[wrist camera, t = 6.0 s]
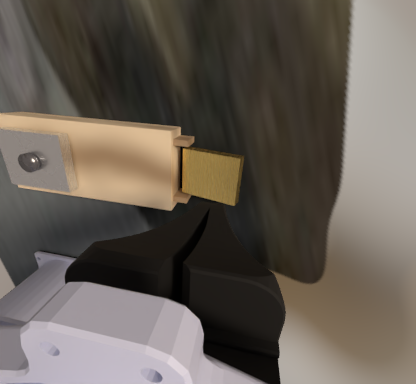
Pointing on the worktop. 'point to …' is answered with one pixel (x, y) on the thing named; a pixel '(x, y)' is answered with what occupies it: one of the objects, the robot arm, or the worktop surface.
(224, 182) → the lever
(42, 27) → the worktop surface
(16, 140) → the lever cap
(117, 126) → the board
